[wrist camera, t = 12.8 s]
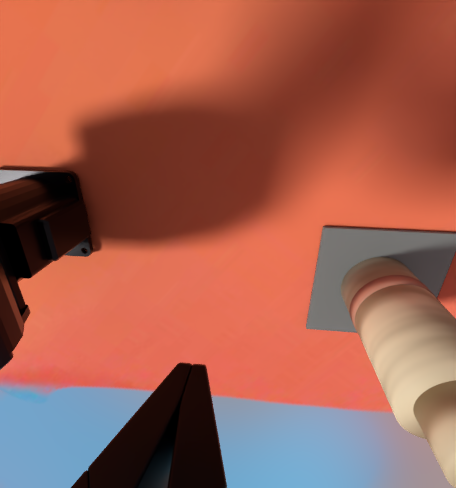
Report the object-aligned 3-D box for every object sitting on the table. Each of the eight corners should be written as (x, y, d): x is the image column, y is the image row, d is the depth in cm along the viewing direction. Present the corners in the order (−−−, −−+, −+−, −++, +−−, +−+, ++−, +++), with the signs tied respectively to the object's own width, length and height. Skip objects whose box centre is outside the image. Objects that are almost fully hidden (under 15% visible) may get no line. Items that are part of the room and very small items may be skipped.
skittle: (326, 296, 22) (391, 477, 11) (369, 244, 20) (503, 406, 9) (380, 323, 23) (492, 520, 12) (428, 276, 20) (620, 464, 10)
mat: (306, 326, 24) (306, 328, 23) (323, 226, 20) (324, 227, 20) (419, 334, 23) (420, 337, 23) (459, 232, 19) (462, 234, 19)
